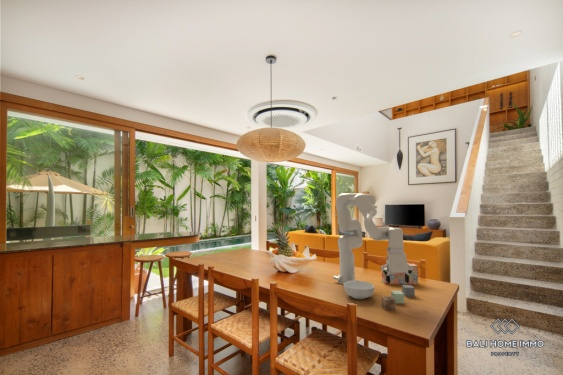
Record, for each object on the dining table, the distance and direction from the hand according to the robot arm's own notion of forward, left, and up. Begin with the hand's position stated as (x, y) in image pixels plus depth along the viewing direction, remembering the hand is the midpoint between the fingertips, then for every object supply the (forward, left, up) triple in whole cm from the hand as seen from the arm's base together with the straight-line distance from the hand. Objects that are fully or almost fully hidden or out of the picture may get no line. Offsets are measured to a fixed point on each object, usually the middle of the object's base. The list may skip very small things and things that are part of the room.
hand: (397, 282), depth 144 cm
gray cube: (+10, +10, -10) cm, 18 cm away
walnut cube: (-8, -9, -10) cm, 16 cm away
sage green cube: (0, 0, -10) cm, 10 cm away
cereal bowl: (-19, +7, -11) cm, 23 cm away
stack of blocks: (+14, +34, -11) cm, 38 cm away
